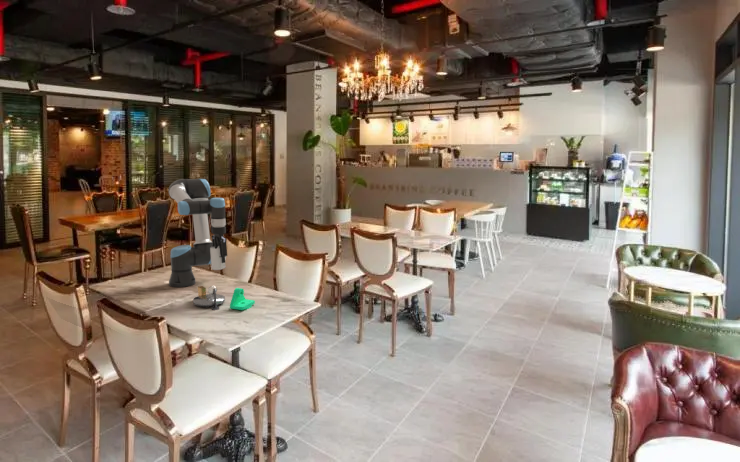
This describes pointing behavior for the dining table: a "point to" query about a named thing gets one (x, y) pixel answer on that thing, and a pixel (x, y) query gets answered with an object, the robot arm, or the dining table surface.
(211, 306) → the turntable base
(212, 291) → the gauge post
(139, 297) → the dining table surface
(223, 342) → the dining table surface
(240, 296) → the camera mount
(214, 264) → the mug
